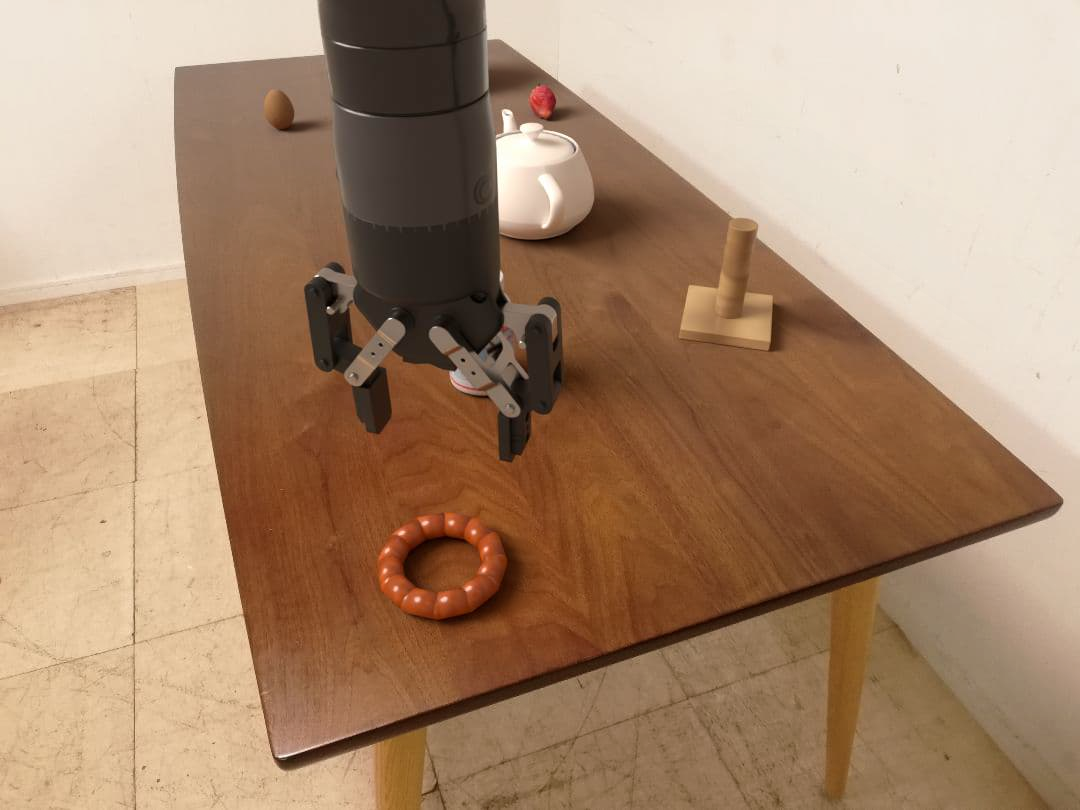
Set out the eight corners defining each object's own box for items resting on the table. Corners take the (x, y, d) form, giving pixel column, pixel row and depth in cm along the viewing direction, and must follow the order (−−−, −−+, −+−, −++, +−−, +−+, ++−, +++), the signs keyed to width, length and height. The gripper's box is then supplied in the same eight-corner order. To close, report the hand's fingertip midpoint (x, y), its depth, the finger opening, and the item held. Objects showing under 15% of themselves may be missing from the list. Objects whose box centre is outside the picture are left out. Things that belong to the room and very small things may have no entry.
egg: (294, 133, 126) (287, 94, 122) (265, 134, 126) (257, 94, 122) (299, 123, 130) (292, 84, 126) (270, 123, 129) (262, 84, 126)
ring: (519, 536, 63) (519, 520, 62) (484, 635, 56) (484, 619, 55) (406, 515, 64) (404, 499, 63) (359, 608, 58) (356, 592, 56)
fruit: (534, 123, 130) (534, 91, 127) (526, 110, 135) (526, 79, 132) (560, 121, 131) (560, 89, 128) (551, 108, 136) (551, 77, 133)
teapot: (620, 256, 97) (628, 156, 89) (492, 273, 94) (489, 171, 86) (559, 172, 116) (561, 84, 108) (451, 184, 112) (445, 93, 105)
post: (770, 304, 89) (791, 209, 82) (768, 351, 82) (791, 251, 75) (687, 293, 91) (701, 199, 83) (678, 338, 84) (692, 239, 77)
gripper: (583, 173, 40) (573, 423, 51) (325, 140, 44) (365, 381, 54) (538, 241, 35) (537, 507, 45) (246, 198, 38) (307, 455, 48)
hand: (443, 438), depth 49 cm, fingers open, 8 cm apart
